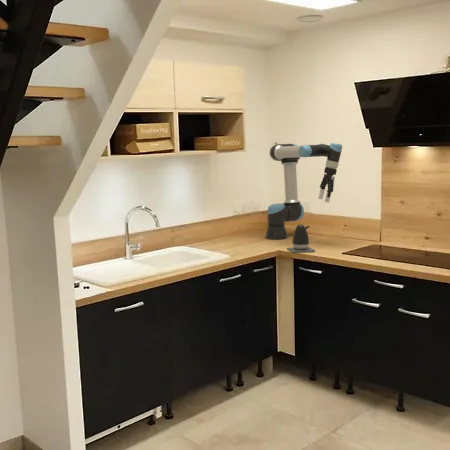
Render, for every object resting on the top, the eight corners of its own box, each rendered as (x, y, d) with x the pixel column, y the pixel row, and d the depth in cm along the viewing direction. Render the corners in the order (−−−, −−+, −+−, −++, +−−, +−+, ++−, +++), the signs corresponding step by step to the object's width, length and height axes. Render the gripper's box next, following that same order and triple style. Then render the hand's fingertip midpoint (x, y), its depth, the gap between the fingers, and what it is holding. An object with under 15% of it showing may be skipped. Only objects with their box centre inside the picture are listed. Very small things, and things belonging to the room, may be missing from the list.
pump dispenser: (309, 250, 350) (309, 225, 348) (291, 250, 352) (291, 225, 350) (310, 247, 360) (309, 223, 357) (293, 247, 362) (293, 223, 359)
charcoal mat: (287, 249, 361) (287, 247, 361) (308, 248, 363) (308, 246, 363) (292, 253, 348) (292, 251, 348) (315, 252, 351) (315, 250, 350)
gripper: (343, 170, 353) (335, 204, 357) (330, 167, 377) (323, 198, 381) (331, 168, 352) (323, 202, 355) (319, 164, 376) (312, 196, 380)
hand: (323, 200), depth 368 cm, fingers open, 13 cm apart
